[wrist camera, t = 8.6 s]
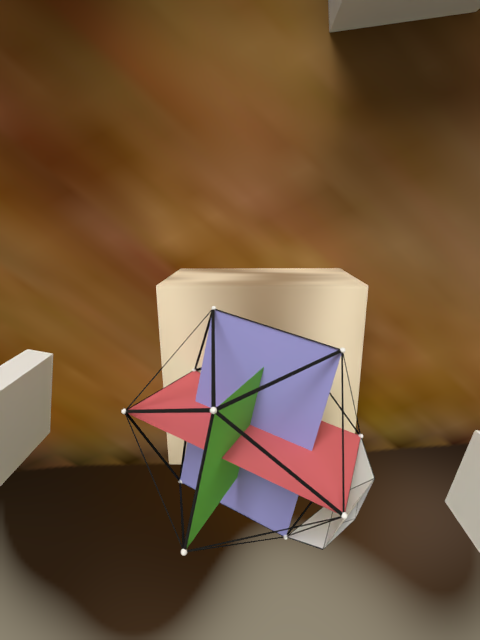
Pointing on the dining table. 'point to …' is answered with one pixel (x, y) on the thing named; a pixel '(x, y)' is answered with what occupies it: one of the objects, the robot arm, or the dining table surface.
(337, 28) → the grey block
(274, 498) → the geometric puzzle
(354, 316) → the beech block
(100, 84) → the dining table surface
